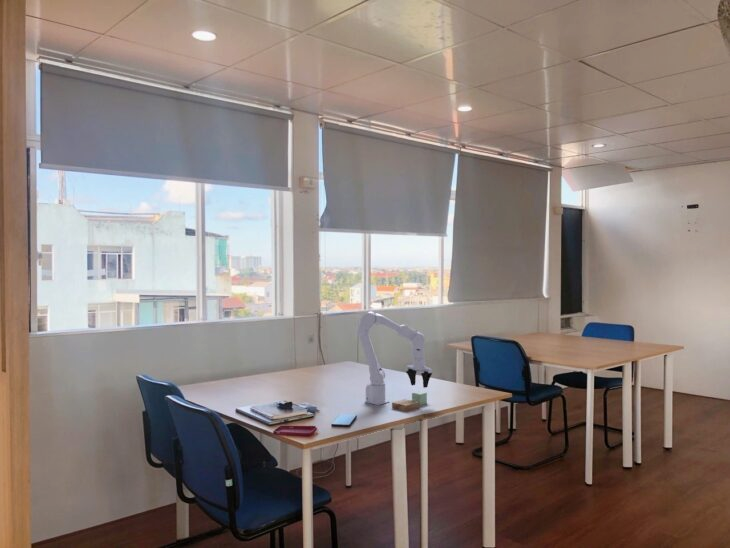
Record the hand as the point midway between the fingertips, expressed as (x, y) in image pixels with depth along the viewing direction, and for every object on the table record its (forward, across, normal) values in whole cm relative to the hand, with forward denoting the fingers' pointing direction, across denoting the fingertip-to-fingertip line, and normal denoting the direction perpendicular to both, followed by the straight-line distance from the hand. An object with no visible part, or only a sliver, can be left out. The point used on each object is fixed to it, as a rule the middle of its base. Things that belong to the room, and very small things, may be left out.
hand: (419, 386), depth 278 cm
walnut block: (+8, -1, +11) cm, 14 cm away
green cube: (+8, 0, 0) cm, 8 cm away
